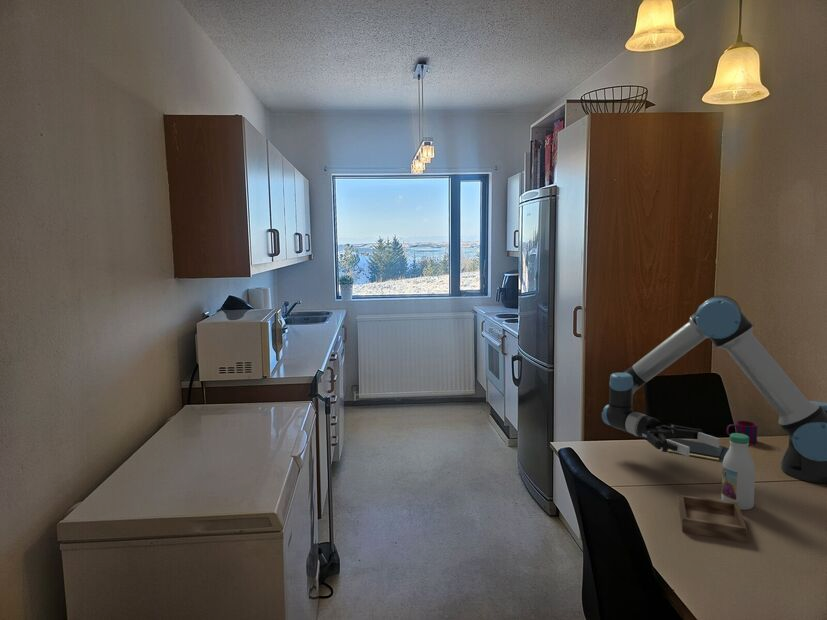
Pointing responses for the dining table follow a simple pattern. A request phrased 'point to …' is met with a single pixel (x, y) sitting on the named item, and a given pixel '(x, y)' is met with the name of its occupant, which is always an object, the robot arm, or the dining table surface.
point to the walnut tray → (712, 518)
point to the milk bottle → (738, 473)
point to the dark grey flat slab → (702, 450)
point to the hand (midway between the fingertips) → (704, 447)
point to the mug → (746, 430)
